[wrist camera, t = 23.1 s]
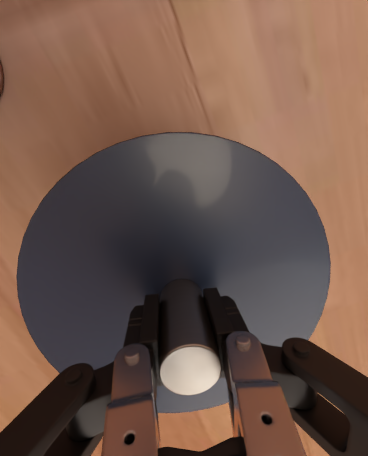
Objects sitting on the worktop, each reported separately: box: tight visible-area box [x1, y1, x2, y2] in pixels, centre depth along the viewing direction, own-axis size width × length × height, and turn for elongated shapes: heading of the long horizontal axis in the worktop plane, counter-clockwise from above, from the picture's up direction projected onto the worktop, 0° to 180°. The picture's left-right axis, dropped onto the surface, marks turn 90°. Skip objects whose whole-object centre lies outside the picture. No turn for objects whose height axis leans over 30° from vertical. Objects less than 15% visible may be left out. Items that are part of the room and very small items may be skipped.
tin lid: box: [17, 132, 331, 413], centre depth 12 cm, size 18×18×6 cm
